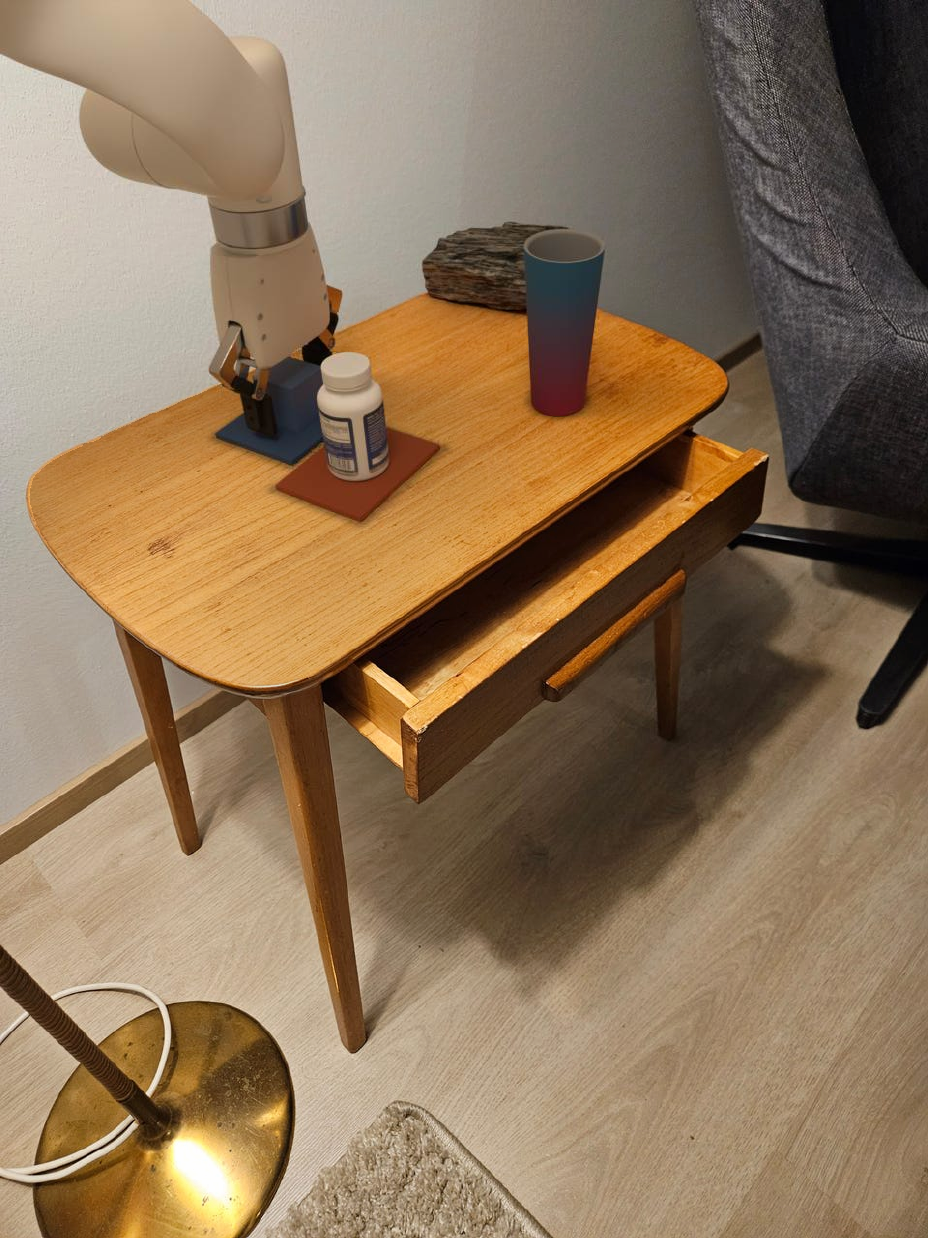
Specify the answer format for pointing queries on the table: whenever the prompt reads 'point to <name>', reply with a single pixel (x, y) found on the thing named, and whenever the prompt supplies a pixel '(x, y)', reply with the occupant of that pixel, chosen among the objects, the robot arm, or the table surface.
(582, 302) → the cup
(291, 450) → the blue mat
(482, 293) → the rock
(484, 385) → the table surface
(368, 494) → the rust mat
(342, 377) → the pill bottle
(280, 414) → the blue block
